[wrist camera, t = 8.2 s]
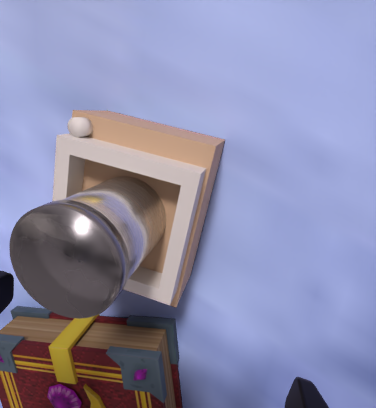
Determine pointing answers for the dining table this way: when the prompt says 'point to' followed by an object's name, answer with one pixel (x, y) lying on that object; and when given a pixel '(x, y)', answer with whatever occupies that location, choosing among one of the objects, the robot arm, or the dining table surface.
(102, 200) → the lens
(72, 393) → the decorative book
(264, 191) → the dining table surface
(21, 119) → the dining table surface
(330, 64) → the dining table surface
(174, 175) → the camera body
